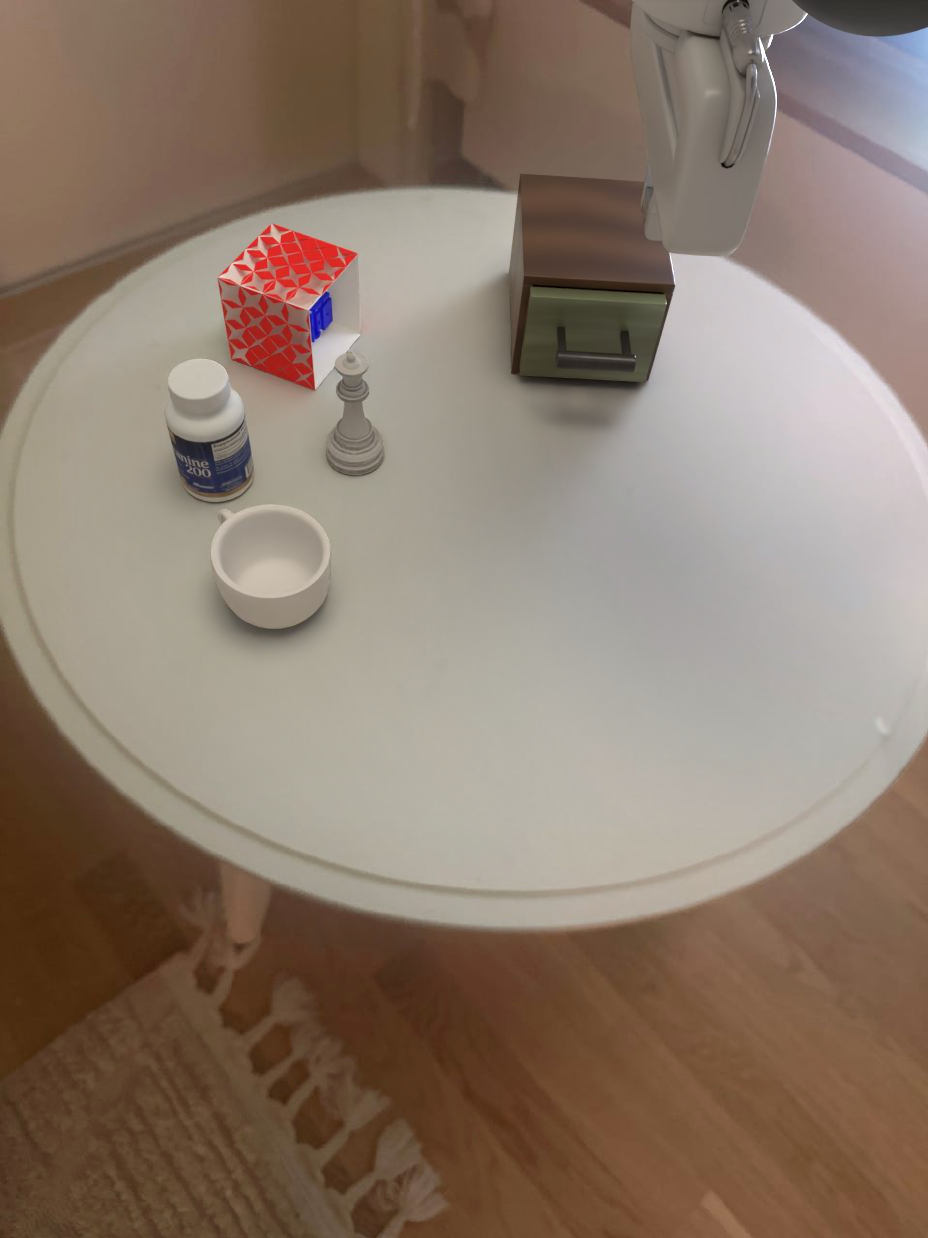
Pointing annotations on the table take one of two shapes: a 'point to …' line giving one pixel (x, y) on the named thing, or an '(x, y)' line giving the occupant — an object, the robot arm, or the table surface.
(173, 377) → the pill bottle
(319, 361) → the red patterned box
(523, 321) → the cabinet
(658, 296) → the drawer
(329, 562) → the teacup
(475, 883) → the table surface
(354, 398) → the chess piece
